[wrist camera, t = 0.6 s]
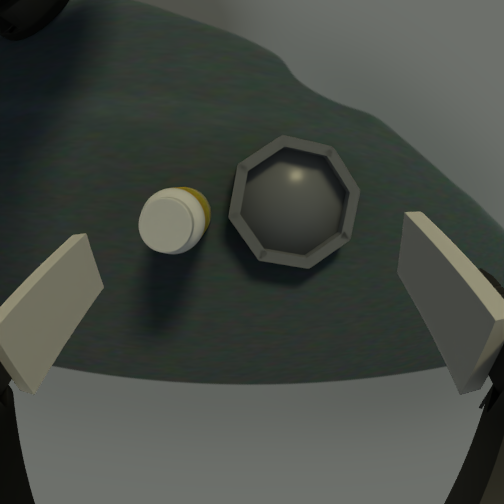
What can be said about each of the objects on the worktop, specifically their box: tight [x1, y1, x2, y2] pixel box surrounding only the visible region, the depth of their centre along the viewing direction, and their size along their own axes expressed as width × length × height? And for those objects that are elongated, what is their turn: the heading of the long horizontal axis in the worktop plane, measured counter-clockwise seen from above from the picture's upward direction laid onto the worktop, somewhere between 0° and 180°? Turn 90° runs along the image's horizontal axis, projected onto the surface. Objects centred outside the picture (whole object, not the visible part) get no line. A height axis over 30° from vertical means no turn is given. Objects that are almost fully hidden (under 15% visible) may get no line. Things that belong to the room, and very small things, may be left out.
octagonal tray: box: [228, 135, 360, 269], centre depth 36 cm, size 14×14×2 cm
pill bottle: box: [139, 187, 211, 254], centre depth 31 cm, size 6×6×11 cm
